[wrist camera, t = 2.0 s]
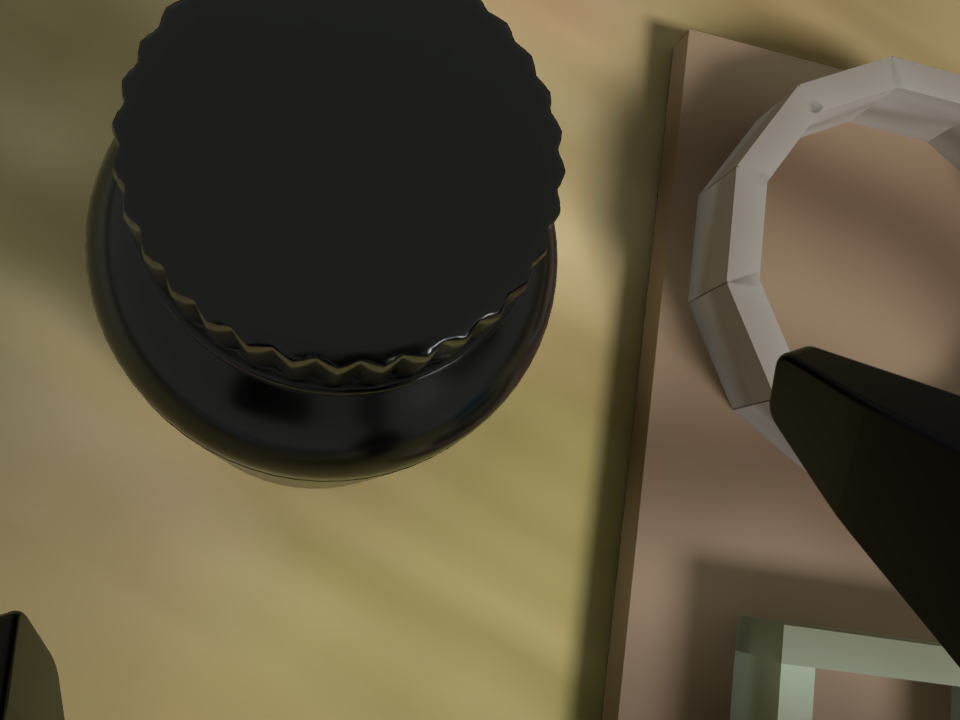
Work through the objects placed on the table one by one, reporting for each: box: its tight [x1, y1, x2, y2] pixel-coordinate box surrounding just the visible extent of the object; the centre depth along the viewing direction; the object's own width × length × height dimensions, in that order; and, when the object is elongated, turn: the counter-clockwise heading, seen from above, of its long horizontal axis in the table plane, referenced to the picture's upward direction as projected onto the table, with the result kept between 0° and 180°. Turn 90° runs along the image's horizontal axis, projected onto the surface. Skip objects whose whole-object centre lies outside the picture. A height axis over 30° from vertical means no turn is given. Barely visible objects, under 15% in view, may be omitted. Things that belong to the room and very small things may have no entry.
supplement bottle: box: [85, 0, 565, 489], centre depth 15 cm, size 7×7×12 cm
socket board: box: [602, 29, 960, 720], centre depth 21 cm, size 24×12×3 cm, turn 172°
